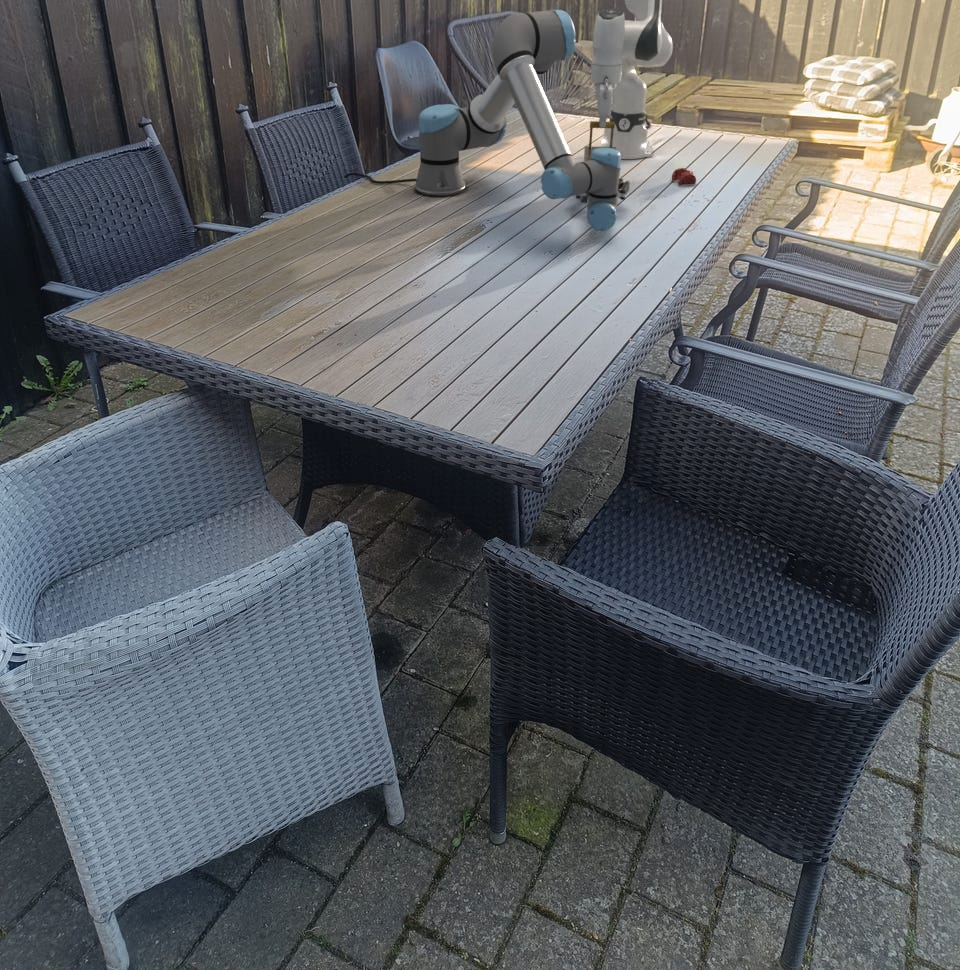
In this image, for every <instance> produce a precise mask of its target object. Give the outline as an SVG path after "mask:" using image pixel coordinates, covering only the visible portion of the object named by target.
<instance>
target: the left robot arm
mask: <svg viewBox="0 0 960 970" xmlns="http://www.w3.org/2000/svg"><path fill="white" fill-rule="evenodd" d="M575 47H576V29H575V25H574V21H573V20H572V18H571V16H570V15H569V14H568V12H566V11H564V10H562V9H553V8H552V9H550V10H549V9H548V10H540V11H539V10H538V11H530V12H516V13H512V14H510V15H507V17H506V18H505V19H504V20H502V21H501V23H500V24H499V25H498V27H497V29H496V31H495V33H494V37H493V40H492V59H493V63H494V67H495V70H496V73H497V74H496V76H495V78H493V80H492V81H491V83H490V84H489V85H488V86H487V88H486V90H485V91H484V92H483V94H478V95H476V96H474V98H472V100H471V101H470V103H469V104H468V106H466V107H460V108H458V106H457V105H455V104H453V103H452V104H451V103H450V104H449V103H443V104H436V105H435V104H434V105H431V106H429V107H426V108H425V109H423V110H422V111H421V112H420V113H419V116H418V132H419V133H418V134H419V135H418V136H419V157H420V158H419V159H420V161H419V162H420V164H419V168H418V172H417V176H416V178H405V179H395V180H375V179H373V178H372V176H371V175H369V174H363V173H360V172H349V173H347V174H345V175H344V176H343V179H348V177H350V176H359V177H362V178H365V179H369V180H370V183H372V184H378V185H385V184H386V185H387V184H400V183H410V182H415V192H417V193H418V194H420V195H424V196H430V197H450V196H455V195H459V194H461V193H463V192H464V191H466V181H465V179H464V176H463V172H462V169H461V165H460V152H461V151H467V150H473V149H478V148H479V149H480V148H489V147H492V146H494V145H497V144H498V143H500V142H501V141H502V140H503V138H504V137H505V135H506V131H507V130H506V128H507V126H508V125H507V117H506V115H507V114H508V113H509V111H510V110H511V109H512V107H513V106H514V105H516V107H517V110H518V112H519V115H520V117H521V119H522V122H523V124H524V126H525V128H526V130H527V132H528V135H529V137H530V140H531V143H532V144H533V146H534V149H535V151H536V153H537V155H538V156H537V157H538V158H539V160H540V162H541V164H542V167H543V169H544V171H543V172H542V173H541V177H540V183H541V190H542V192H543V194H544V195H545V196H546V197H547V198H548V199H550V200H560V199H567V198H569V197H573V196H575V199H576V200H579V199H581V198H582V196H585V197H586V198H587V202H586V208H587V210H586V220H587V222H588V225H589V226H590V227H591V228H592V229H593V230H594V231H597V232H607V231H609V230H610V229H612V228H613V227H614V225H615V224H616V222H617V218H618V211H617V208H618V199H620V200H622V201H624V200H626V195H627V194H628V192H630V185H631V182H630V180H625V181H624V179H623V178H620V174H621V169H622V167H621V165H622V164H621V163H622V159H621V154H620V152H619V151H618V150H616V149H612V148H597V149H595V150H593V151H592V154H591V160H589V161H584V160H583V161H579V162H576V161H575V159H574V157H573V155H572V153H571V151H570V148H569V146H568V144H567V141H566V139H565V137H564V134H563V132H562V129H561V127H560V126H559V123H558V121H557V118H556V116H555V114H554V111H553V109H552V107H551V105H550V102H549V100H548V97H547V96H546V93H545V91H544V89H543V86H542V84H541V81H540V80H539V76H543V75H545V74H546V73H548V72H549V70H550V69H551V68H552V67H553V65H554V64H555V63H556V62H558V61H565V60H567V59H569V58H571V56H572V54H573V53H574V51H575Z"/></svg>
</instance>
